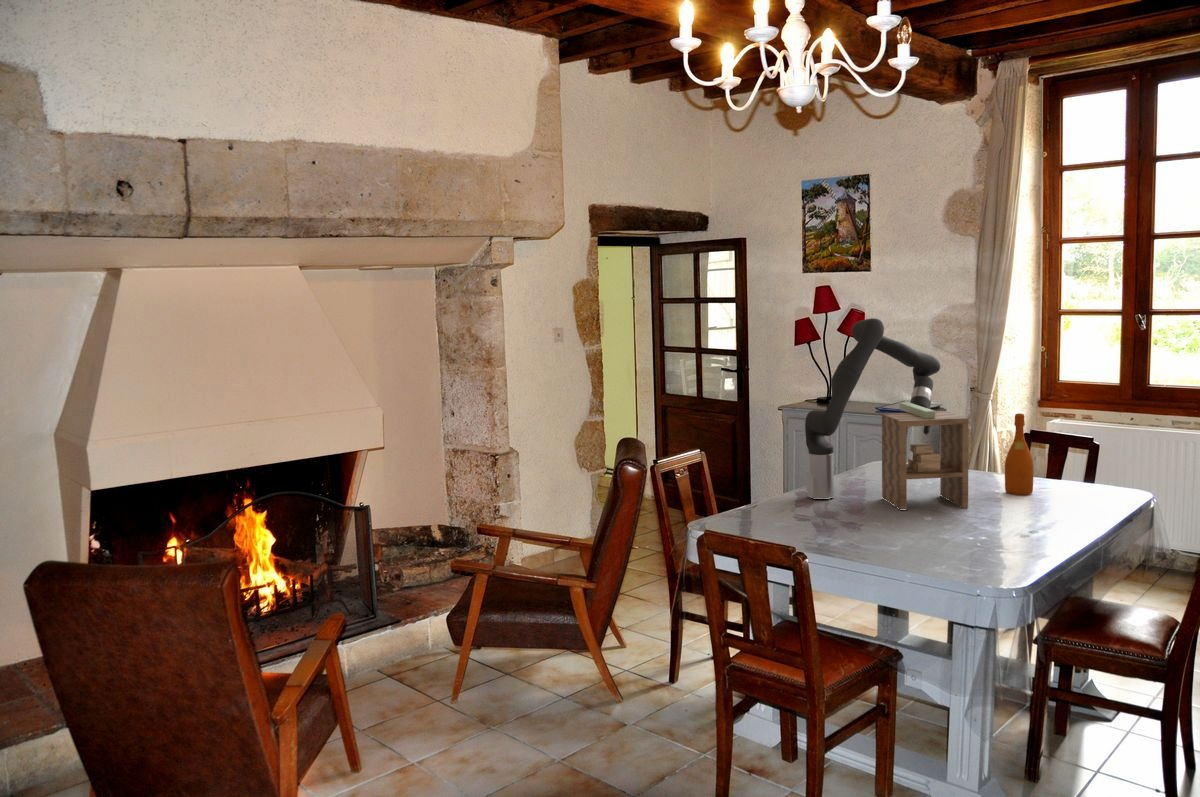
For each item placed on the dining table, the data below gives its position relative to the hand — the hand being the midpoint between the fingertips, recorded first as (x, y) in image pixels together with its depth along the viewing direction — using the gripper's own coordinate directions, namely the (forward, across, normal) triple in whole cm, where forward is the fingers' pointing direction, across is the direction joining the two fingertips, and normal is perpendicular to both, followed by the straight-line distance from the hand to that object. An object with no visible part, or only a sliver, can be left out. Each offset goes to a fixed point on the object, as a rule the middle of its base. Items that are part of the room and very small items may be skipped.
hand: (914, 435), depth 361 cm
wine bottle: (+9, +27, +33) cm, 43 cm away
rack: (+28, +6, +4) cm, 29 cm away
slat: (+1, +7, -14) cm, 16 cm away
